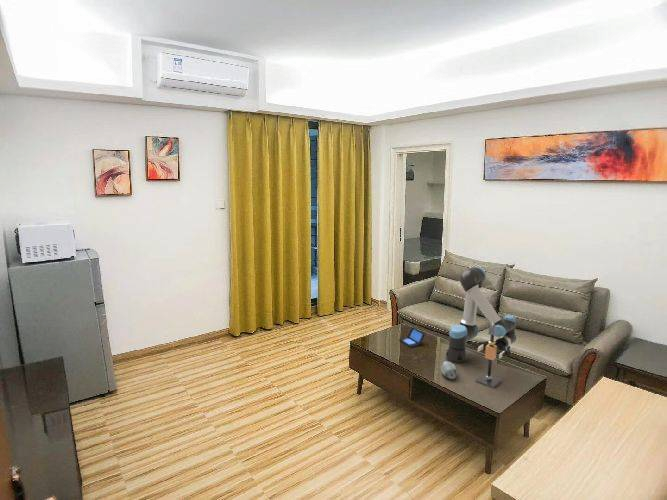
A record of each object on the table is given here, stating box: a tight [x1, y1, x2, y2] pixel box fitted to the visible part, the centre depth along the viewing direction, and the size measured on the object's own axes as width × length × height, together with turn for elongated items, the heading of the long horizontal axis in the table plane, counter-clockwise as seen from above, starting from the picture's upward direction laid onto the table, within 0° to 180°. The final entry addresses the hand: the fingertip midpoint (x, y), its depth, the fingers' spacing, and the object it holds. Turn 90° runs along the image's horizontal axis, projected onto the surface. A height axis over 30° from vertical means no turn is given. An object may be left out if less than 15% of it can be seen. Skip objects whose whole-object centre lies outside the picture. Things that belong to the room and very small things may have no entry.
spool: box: [440, 360, 457, 380], centre depth 267 cm, size 14×10×10 cm
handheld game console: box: [398, 327, 426, 348], centre depth 317 cm, size 16×13×9 cm
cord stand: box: [474, 323, 503, 389], centre depth 257 cm, size 12×12×39 cm
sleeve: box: [484, 344, 498, 361], centre depth 257 cm, size 5×5×8 cm
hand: (488, 352), depth 254 cm, fingers open, 13 cm apart
